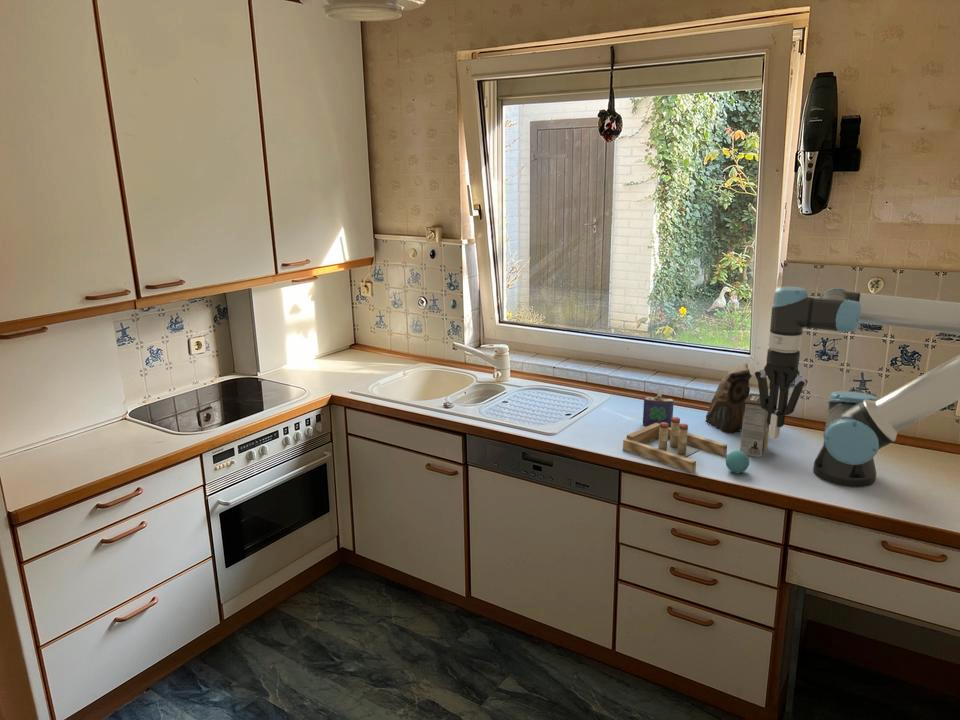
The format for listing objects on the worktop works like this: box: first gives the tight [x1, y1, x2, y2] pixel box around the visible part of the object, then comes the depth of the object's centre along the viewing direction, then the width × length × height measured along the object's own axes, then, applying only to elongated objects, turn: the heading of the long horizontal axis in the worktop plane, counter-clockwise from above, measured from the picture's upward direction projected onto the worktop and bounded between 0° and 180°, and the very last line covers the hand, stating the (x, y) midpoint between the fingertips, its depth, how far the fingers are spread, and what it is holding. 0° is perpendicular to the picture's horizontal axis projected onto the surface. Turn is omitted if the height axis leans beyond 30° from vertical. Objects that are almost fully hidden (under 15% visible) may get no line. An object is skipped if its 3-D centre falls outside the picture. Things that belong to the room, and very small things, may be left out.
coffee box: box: [739, 392, 770, 458], centre depth 211 cm, size 9×6×16 cm
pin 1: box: [657, 422, 669, 451], centre depth 211 cm, size 2×2×9 cm
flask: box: [642, 393, 675, 428], centre depth 232 cm, size 9×3×11 cm, turn 78°
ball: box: [725, 450, 750, 474], centre depth 198 cm, size 6×6×6 cm
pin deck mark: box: [667, 442, 700, 458], centre depth 213 cm, size 9×12×1 cm
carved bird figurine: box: [704, 362, 752, 435], centre depth 228 cm, size 13×13×20 cm
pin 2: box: [669, 416, 681, 448], centre depth 215 cm, size 2×2×9 cm
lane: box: [622, 423, 728, 474], centre depth 212 cm, size 23×18×4 cm
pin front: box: [677, 423, 689, 455], centre depth 210 cm, size 2×2×9 cm
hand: (773, 437), depth 189 cm, fingers closed
